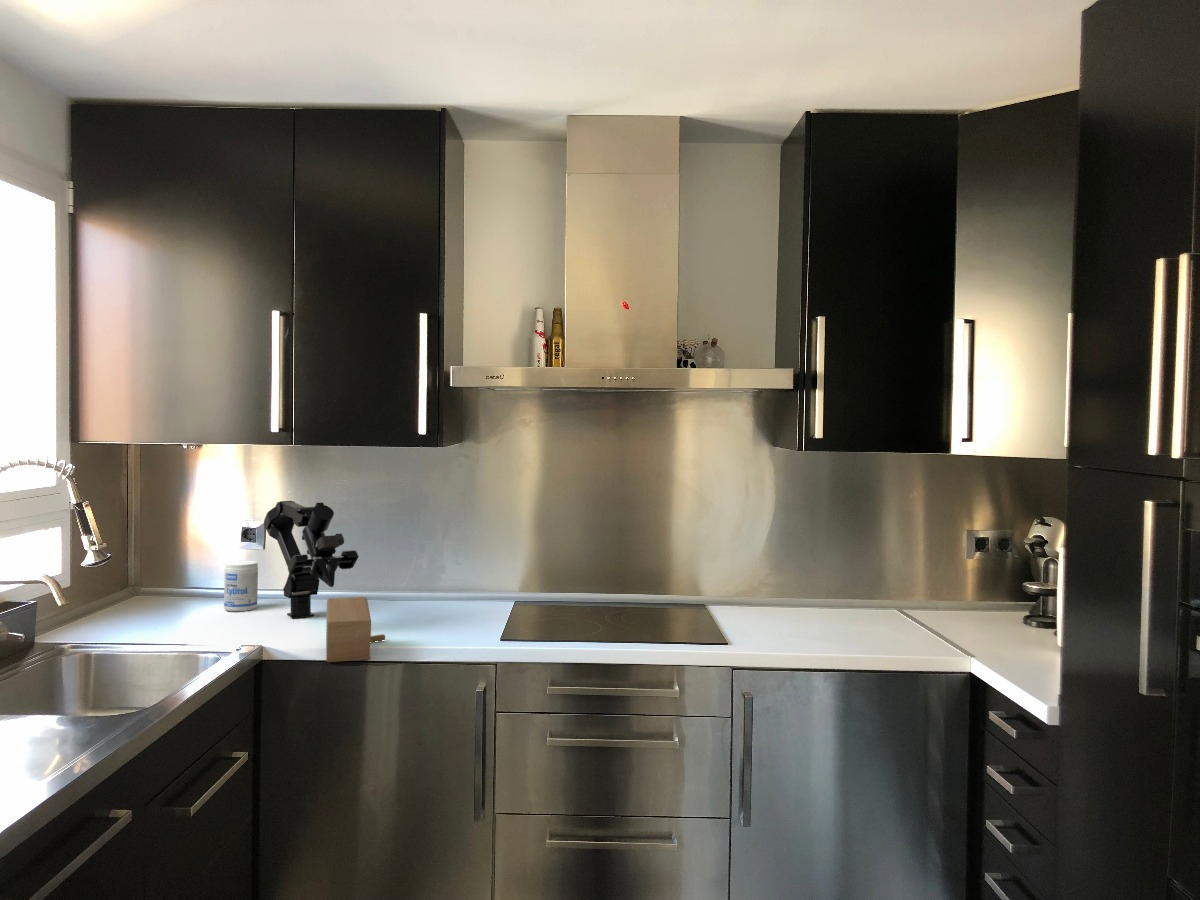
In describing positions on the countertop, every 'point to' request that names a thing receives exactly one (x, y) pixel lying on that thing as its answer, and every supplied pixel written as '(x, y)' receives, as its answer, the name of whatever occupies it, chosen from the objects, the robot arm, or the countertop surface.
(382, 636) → the oak batten
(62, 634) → the countertop surface
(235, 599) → the supplement tub
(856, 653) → the countertop surface
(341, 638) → the wooden block
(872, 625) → the countertop surface
